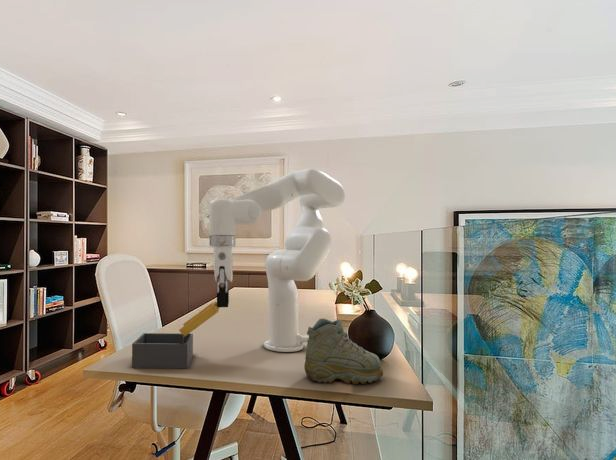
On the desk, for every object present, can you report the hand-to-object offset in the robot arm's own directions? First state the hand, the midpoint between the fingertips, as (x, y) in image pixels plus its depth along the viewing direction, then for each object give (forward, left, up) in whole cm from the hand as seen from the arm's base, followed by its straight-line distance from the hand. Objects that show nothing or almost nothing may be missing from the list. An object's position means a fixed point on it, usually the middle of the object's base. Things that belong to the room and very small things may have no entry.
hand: (222, 304), depth 110 cm
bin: (+17, 0, -16) cm, 23 cm away
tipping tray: (+4, 0, -4) cm, 6 cm away
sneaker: (-31, +12, -16) cm, 37 cm away
